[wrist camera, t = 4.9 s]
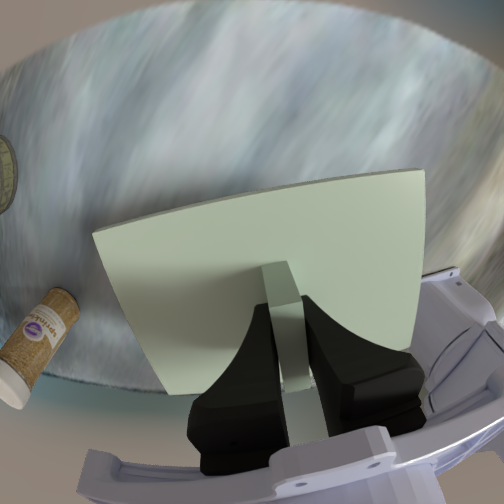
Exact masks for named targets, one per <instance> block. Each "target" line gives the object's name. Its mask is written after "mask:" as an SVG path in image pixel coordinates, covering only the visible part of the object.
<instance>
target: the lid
mask: <svg viewBox="0 0 504 504" xmlns="http://www.w3.org/2000/svg"><path fill="white" fill-rule="evenodd" d="M92 236H93V239H94V241H95V244H96V247H97V250H98V252H99V255H100V258H101V260H102V263H103V266H104V268H105V271H106V273H107V276H108V278H109V281H110V283H111V285H112V288H113V290H114V292H115V295H116V297H117V299H118V301H119V303H120V306H121V308H122V310H123V312H124V314H125V316H126V318H127V321H128V323H129V325H130V327H131V329H132V331H133V333H134V335H135V337H136V339H137V340H138V342H139V344H140V346H141V348H142V350H143V352H144V354H145V355H146V357H147V359H148V361H149V363H150V364H151V366H152V368H153V370H154V371H155V373H156V375H157V376H158V378H159V380H160V381H161V383H162V385H163V386H164V388H165V390H166V391H167V393H168V394H169V395H181V394H196V393H204V392H205V391H206V390H207V389H209V388H210V387H211V386H212V384H213V383H214V382H215V381H216V380H217V379H218V378H219V377H220V376H221V375H222V373H223V372H224V371H225V370H226V368H227V367H228V365H229V364H230V363H231V361H232V360H233V358H234V357H235V355H236V353H237V352H238V350H239V348H240V346H241V344H242V342H243V340H244V338H245V336H246V333H247V331H248V328H249V325H250V323H251V320H252V316H253V312H254V307H255V306H256V305H257V304H262V303H267V302H268V306H269V311H270V316H271V321H272V327H273V332H274V337H275V342H276V347H277V352H278V358H279V368H280V382H283V384H284V389H285V393H289V392H294V391H299V390H304V389H308V388H311V383H310V376H313V374H312V372H311V369H310V366H309V360H308V349H307V339H306V329H305V319H304V310H303V301H302V299H301V296H302V295H308V296H309V297H310V298H311V299H312V300H313V301H314V302H315V303H316V304H317V305H318V306H319V307H320V308H321V309H322V310H323V311H324V312H325V313H327V314H328V315H329V316H330V317H331V318H333V319H334V320H335V321H336V322H338V323H339V324H340V325H342V326H343V327H345V328H346V329H348V330H349V331H351V332H353V333H354V334H356V335H358V336H360V337H362V338H364V339H366V340H368V341H371V342H373V343H375V344H378V345H381V346H384V347H387V348H390V349H393V350H397V351H400V350H403V349H405V348H408V347H410V344H411V340H412V335H413V330H414V325H415V319H416V313H417V307H418V301H419V294H420V286H421V277H422V268H423V256H424V241H425V173H424V170H423V169H419V168H408V169H398V170H388V171H379V172H371V173H363V174H355V175H347V176H340V177H333V178H326V179H320V180H313V181H307V182H301V183H295V184H289V185H283V186H278V187H272V188H267V189H261V190H256V191H251V192H246V193H241V194H236V195H231V196H226V197H222V198H217V199H212V200H208V201H203V202H199V203H194V204H190V205H186V206H182V207H177V208H173V209H169V210H165V211H161V212H157V213H153V214H149V215H145V216H142V217H138V218H134V219H130V220H127V221H123V222H120V223H116V224H112V225H109V226H105V227H102V228H99V229H97V230H96V231H95V232H93V233H92Z"/></svg>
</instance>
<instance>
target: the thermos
mask: <svg viewBox="0 0 504 504" xmlns="http://www.w3.org/2000/svg"><path fill="white" fill-rule="evenodd" d="M17 182H18V168H17V160H16V156H15V152H14V149H13V147H12V145H11V143H10V141H9V140H8V139H6V138H5V137H4V136H2V135H0V214H1V213H3V212H4V211H6V210H7V209H8V208H9V207H10V205H11V204H12V202H13V200H14V197H15V193H16V190H17Z"/></svg>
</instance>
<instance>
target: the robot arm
mask: <svg viewBox="0 0 504 504" xmlns="http://www.w3.org/2000/svg"><path fill="white" fill-rule="evenodd" d="M459 273H460V269H459V268H458V267H454V268H451V269H448V270H445V271H441V272H438V273H435V274H431V275H428V276H424V277H421V286H420V294H419V301H418V307H417V313H416V319H415V325H414V330H413V335H412V340H411V344H410V347H408V348H409V350H410V351H411V353H412V354H413V356H414V357H415V358H414V357H413V356H412V355H411V354H410V353H406V352H401V351H397V350H393V349H390V348H387V347H384V346H381V345H378V344H375V343H373V342H371V341H368V340H366V339H364V338H362V337H360V336H358V335H356V334H354V333H353V332H351V331H349V330H348V329H346V328H345V327H343V326H342V325H340V324H339V323H338V322H336V321H335V320H334V319H333V318H331V317H330V316H329V315H328V314H327V313H325V312H324V311H323V310H322V309H321V308H320V307H319V306H318V305H317V304H316V303H315V302H314V301H313V300H312V299H311V298H310V297H309V296H308V295H302V296H301V299H302V301H303V310H304V319H305V329H306V339H307V349H308V360H309V366H310V369H311V372H312V374H313V377H314V379H315V382H316V385H317V388H318V391H319V395H320V400H321V404H322V408H323V412H324V416H325V421H326V425H327V430H328V435H329V438H325V439H321V440H317V441H312V442H308V443H303V444H298V445H294V446H290V443H289V437H288V431H287V426H286V420H285V414H284V408H283V402H282V396H281V384H280V368H279V358H278V352H277V347H276V342H275V337H274V332H273V327H272V321H271V316H270V311H269V306H268V302H267V303H262V304H257V305H256V306H255V307H254V312H253V316H252V320H251V323H250V325H249V328H248V331H247V333H246V336H245V338H244V340H243V342H242V344H241V346H240V348H239V350H238V352H237V353H236V355H235V357H234V358H233V360H232V361H231V363H230V364H229V365H228V367H227V368H226V370H225V371H224V372H223V373H222V375H221V376H220V377H219V378H218V379H217V380H216V381H215V382H214V383H213V384H212V386H211V387H210V388H209V389H207V390H206V391H205V392H204V393H203V394H202V395H200V396H199V397H198V398H197V399H196V400H194V401H193V404H192V407H191V410H190V414H189V418H188V427H187V437H188V439H189V441H190V442H191V443H192V444H193V445H194V447H195V448H196V449H197V450H198V451H199V452H200V454H201V459H200V467H175V466H158V465H146V464H137V463H130V462H123V461H121V460H120V459H119V458H118V457H117V456H115V455H113V454H111V453H108V452H103V451H98V450H92V449H88V452H87V455H86V458H85V462H84V465H83V468H82V472H81V475H80V479H79V483H78V486H77V490H76V492H77V493H78V494H79V495H81V496H83V497H85V498H86V499H88V500H90V501H92V502H94V503H96V504H446V501H445V499H444V496H443V494H442V491H441V488H440V486H439V484H438V481H437V479H436V476H438V475H440V474H442V473H443V472H445V471H447V470H448V469H450V468H452V467H453V466H455V465H456V464H458V463H459V462H461V461H462V460H464V459H465V458H467V457H468V456H470V455H471V454H472V453H477V452H484V451H495V452H496V453H497V455H498V456H499V458H500V459H501V460H502V462H503V463H504V326H503V325H502V324H501V323H499V322H498V321H496V317H495V313H494V310H493V308H492V306H491V304H490V303H489V302H488V300H487V299H485V298H484V297H483V296H482V295H481V294H480V293H479V292H478V291H476V290H475V289H474V288H473V287H472V286H471V285H469V284H468V283H467V282H466V281H465V280H463V279H462V278H461V277H460V276H459ZM425 374H426V376H427V377H428V381H427V382H426V383H425V387H426V388H427V390H428V392H429V393H428V394H427V395H426V397H425V400H424V406H425V414H426V417H425V415H424V413H423V412H422V409H421V408H420V406H421V400H420V399H419V397H418V395H419V392H420V390H421V387H422V385H423V382H424V378H425Z"/></svg>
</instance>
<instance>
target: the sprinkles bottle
mask: <svg viewBox="0 0 504 504" xmlns="http://www.w3.org/2000/svg"><path fill="white" fill-rule="evenodd" d="M79 316H80V310H79V308H78V305H77V303H76V301H75V299H74V298H73V297H72V296H71V295H70V294H69V293H68V292H67V291H65V290H63V289H61V288H53V289H51V290H50V291H49V292H48V294H47V296H46V297H45V298H44V299H43V300H42V301H41V302H40V303H39V304H38V305H37V306H36V307H35V308H34V309H33V310H32V311H31V312H30V313H29V314H28V315H27V316H26V318H25V319H24V320H23V321H22V322H21V323H20V325H19V326H18V328H17V329H16V330H15V331H14V332H13V334H12V335H11V336H10V338H9V339H8V340H7V342H6V343H5V344H4V346H3V347H2V348H1V350H0V398H1V399H2V400H3V401H4V402H6V403H7V404H8V405H10V406H12V407H13V408H16V409H22V408H23V407H24V406H25V404H26V402H27V400H28V399H29V397H30V393H31V390H32V387H33V386H34V384H35V382H36V380H37V379H38V377H39V376H40V374H41V373H42V371H44V369H45V368H46V366H47V365H48V363H49V361H50V360H51V358H52V357H53V355H54V354H55V352H56V351H57V349H58V348H59V346H60V344H61V343H62V341H63V340H64V338H65V337H66V334H67V332H68V331H69V330H70V328H71V327H72V325H73V324H74V323H75V322H76V321H77V320H78V318H79Z"/></svg>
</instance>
